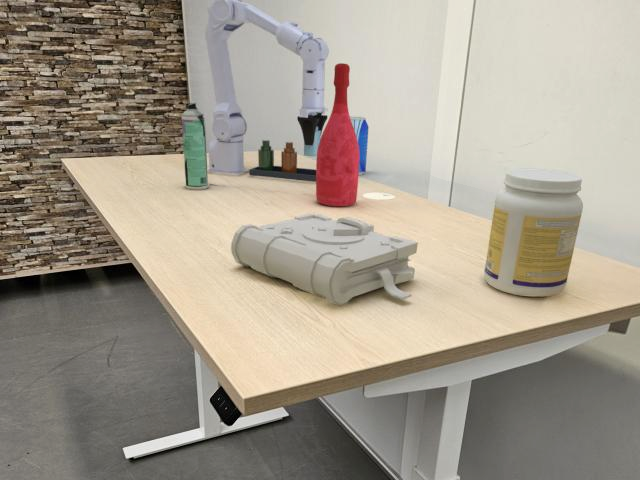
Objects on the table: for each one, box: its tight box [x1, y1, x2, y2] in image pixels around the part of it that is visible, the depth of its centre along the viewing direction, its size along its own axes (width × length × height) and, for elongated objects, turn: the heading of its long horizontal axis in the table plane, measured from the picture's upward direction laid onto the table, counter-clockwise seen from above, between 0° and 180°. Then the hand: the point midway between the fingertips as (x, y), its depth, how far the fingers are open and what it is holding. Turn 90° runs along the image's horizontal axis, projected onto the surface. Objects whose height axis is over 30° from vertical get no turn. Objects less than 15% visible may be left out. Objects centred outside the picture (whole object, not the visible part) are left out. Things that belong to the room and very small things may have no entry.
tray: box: [248, 165, 316, 183], centre depth 162 cm, size 21×9×2 cm, turn 72°
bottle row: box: [257, 139, 298, 174], centre depth 161 cm, size 11×4×9 cm, turn 72°
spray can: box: [181, 102, 209, 191], centre depth 141 cm, size 6×6×20 cm
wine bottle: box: [315, 62, 360, 207], centre depth 129 cm, size 10×10×30 cm
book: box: [230, 212, 419, 307], centre depth 87 cm, size 19×28×8 cm
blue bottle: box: [303, 126, 322, 157], centre depth 154 cm, size 4×4×9 cm
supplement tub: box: [483, 167, 584, 298], centre depth 86 cm, size 12×12×17 cm
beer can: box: [349, 115, 369, 176], centre depth 166 cm, size 8×8×16 cm
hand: (311, 144), depth 155 cm, fingers closed on blue bottle, 4 cm apart
